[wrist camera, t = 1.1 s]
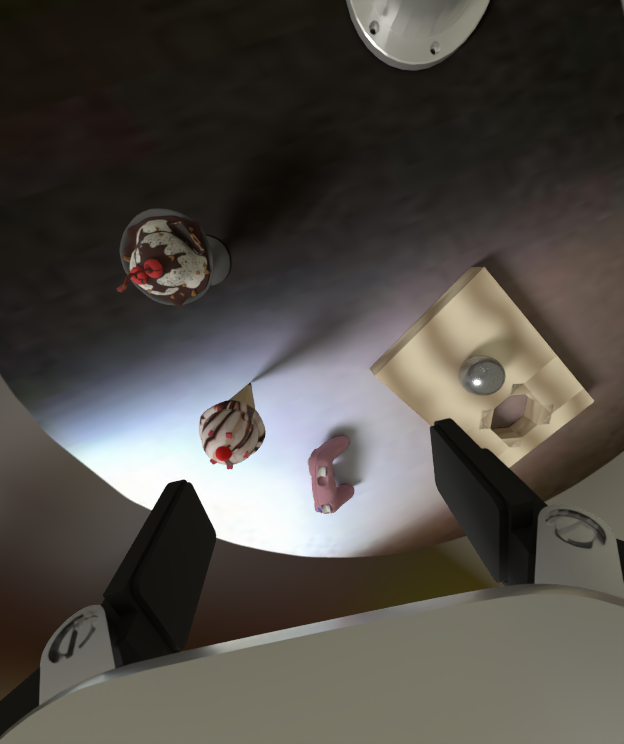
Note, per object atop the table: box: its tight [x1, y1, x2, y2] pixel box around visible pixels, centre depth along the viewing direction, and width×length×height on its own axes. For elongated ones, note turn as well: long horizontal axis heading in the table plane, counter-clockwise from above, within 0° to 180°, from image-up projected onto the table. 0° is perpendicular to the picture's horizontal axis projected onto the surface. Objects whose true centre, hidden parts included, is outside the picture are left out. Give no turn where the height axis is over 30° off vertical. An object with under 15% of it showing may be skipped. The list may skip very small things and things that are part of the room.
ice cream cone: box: [199, 382, 265, 469], centre depth 29 cm, size 6×6×15 cm
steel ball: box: [458, 355, 506, 396], centre depth 32 cm, size 4×4×4 cm
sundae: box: [117, 208, 230, 306], centre depth 24 cm, size 7×7×15 cm
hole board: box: [370, 267, 594, 468], centre depth 36 cm, size 16×24×2 cm, turn 48°
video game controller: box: [308, 436, 354, 514], centre depth 38 cm, size 10×5×7 cm, turn 7°
